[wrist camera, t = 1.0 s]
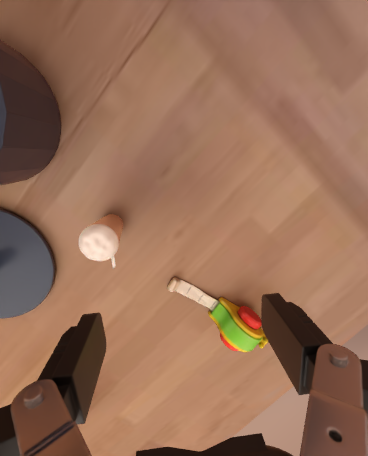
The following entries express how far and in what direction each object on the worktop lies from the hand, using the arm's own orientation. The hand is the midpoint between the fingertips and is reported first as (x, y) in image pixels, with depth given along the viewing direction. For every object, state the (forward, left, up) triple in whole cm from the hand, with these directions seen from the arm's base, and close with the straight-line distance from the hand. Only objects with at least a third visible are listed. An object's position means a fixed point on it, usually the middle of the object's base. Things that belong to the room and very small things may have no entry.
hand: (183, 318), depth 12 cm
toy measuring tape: (+19, -2, -26) cm, 32 cm away
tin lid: (-7, -26, -25) cm, 37 cm away
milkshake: (-2, -8, -26) cm, 27 cm away
